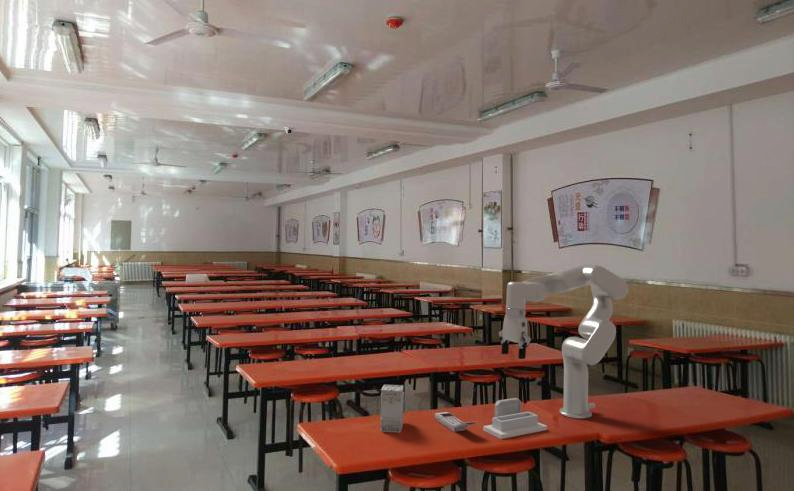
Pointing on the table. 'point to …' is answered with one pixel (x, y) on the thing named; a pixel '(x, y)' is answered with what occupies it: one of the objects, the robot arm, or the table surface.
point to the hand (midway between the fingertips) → (513, 356)
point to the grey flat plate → (507, 407)
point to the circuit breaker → (392, 408)
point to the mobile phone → (452, 421)
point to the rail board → (514, 425)
